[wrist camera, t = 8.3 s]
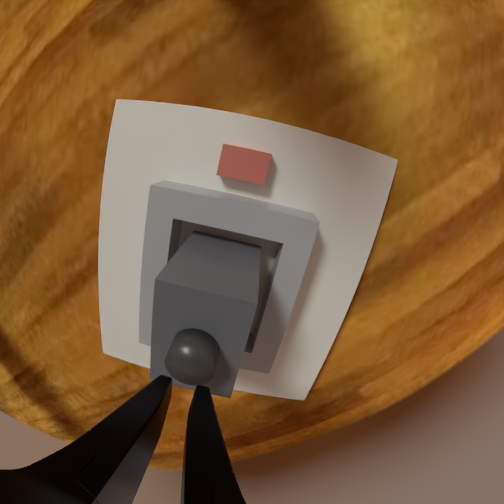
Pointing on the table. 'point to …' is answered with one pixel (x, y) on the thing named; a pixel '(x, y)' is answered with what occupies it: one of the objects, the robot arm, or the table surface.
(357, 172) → the socket
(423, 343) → the table surface
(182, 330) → the plug
